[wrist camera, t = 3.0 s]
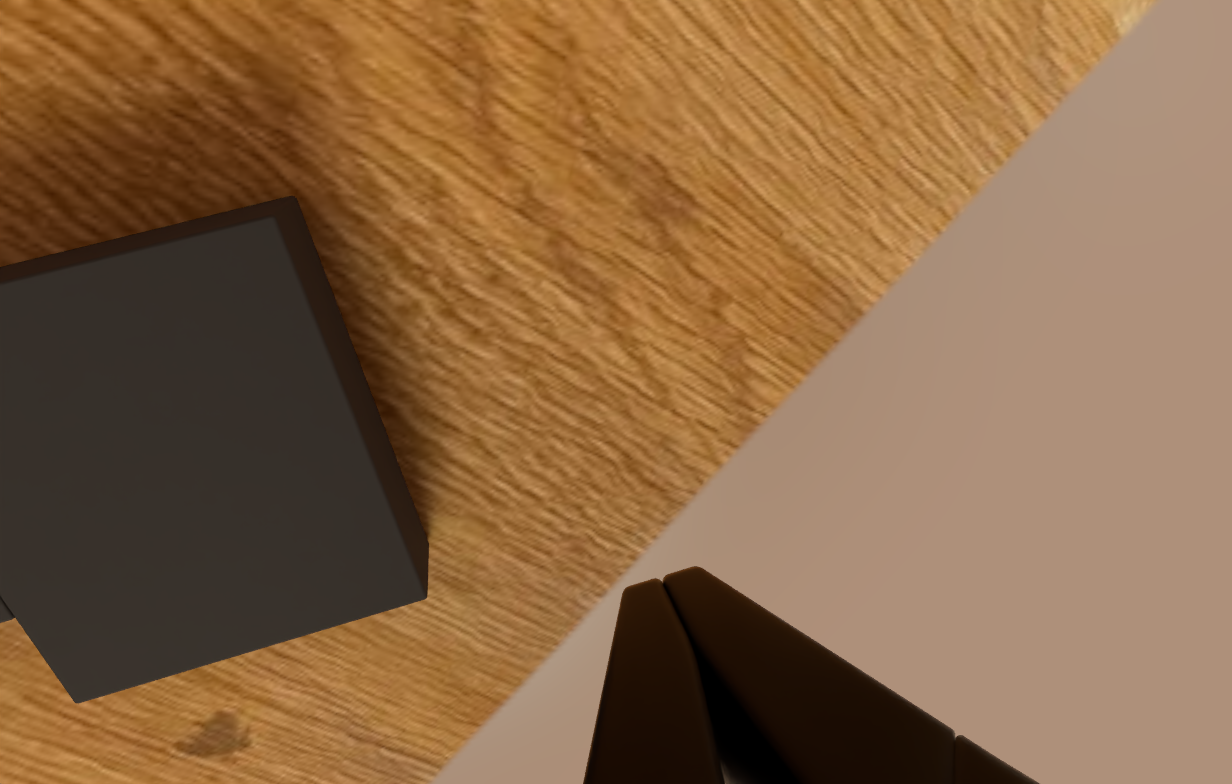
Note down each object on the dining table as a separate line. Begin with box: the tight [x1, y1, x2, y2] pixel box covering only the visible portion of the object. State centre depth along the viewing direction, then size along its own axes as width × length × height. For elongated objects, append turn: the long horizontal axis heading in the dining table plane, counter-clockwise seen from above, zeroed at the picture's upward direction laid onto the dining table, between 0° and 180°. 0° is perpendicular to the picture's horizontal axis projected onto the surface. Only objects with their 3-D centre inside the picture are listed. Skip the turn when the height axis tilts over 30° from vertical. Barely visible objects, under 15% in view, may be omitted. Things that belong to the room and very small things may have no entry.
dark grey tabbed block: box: [0, 196, 429, 703], centre depth 15 cm, size 8×10×2 cm
